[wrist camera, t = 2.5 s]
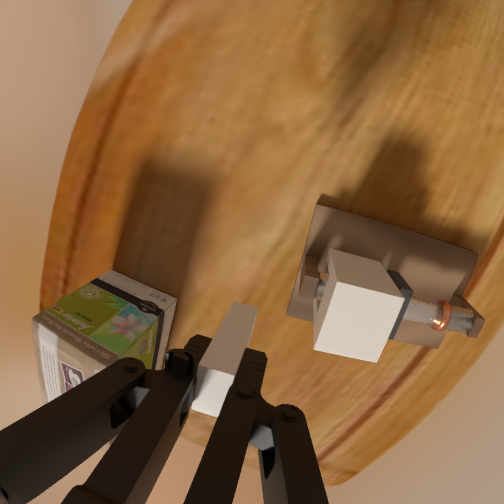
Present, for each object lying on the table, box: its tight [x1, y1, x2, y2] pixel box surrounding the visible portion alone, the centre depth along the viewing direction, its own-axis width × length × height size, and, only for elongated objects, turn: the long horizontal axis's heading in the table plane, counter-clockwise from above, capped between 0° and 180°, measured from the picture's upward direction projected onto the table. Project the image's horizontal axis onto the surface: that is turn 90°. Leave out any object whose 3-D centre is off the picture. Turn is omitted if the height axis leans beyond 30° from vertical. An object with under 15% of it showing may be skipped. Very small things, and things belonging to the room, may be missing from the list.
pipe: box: [313, 271, 474, 334], centre depth 25 cm, size 3×16×3 cm, turn 78°
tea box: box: [32, 270, 177, 451], centre depth 31 cm, size 15×10×15 cm, turn 162°
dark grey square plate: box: [387, 270, 413, 340], centre depth 25 cm, size 5×1×5 cm, turn 168°
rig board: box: [286, 204, 485, 349], centre depth 28 cm, size 12×19×7 cm, turn 78°
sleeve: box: [313, 248, 405, 363], centre depth 24 cm, size 5×5×9 cm
